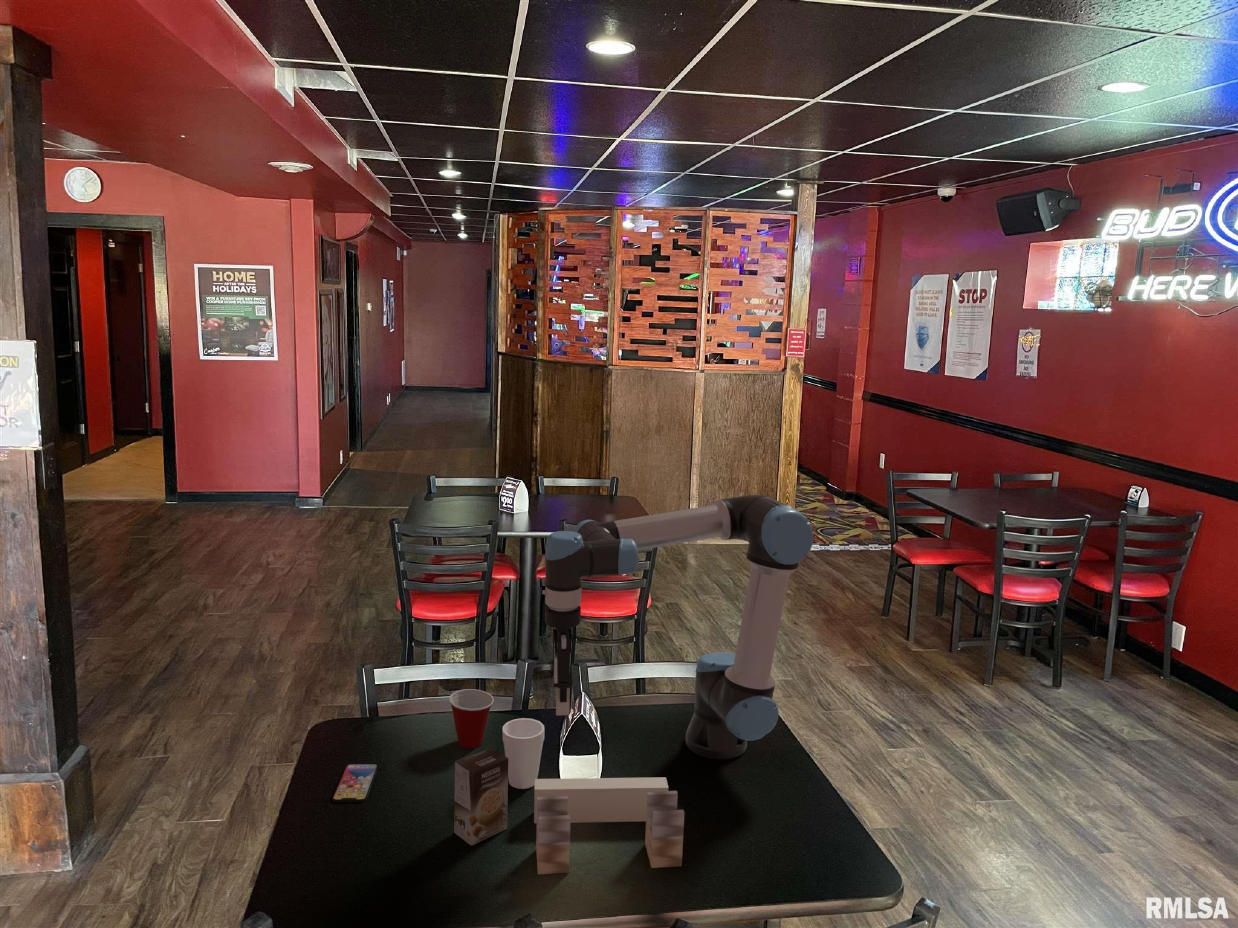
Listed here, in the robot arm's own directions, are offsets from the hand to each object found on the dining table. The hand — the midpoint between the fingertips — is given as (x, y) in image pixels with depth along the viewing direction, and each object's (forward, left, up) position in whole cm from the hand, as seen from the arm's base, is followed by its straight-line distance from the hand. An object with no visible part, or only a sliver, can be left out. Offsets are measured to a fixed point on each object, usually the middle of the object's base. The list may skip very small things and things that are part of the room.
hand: (561, 699), depth 190 cm
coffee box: (+17, +10, -24) cm, 31 cm away
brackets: (-8, +21, -24) cm, 33 cm away
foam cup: (+8, -8, -24) cm, 26 cm away
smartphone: (+45, -10, -24) cm, 52 cm away
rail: (-8, +7, -24) cm, 26 cm away
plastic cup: (+20, -26, -24) cm, 40 cm away
